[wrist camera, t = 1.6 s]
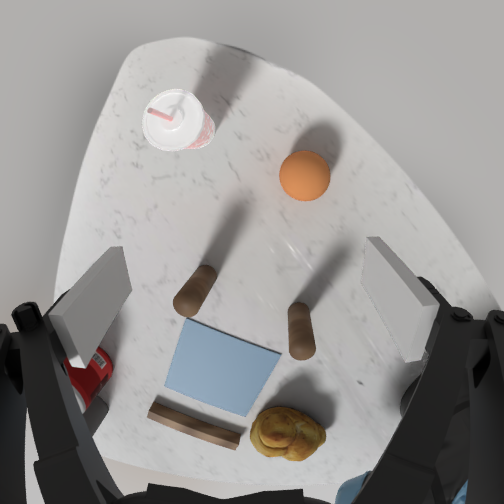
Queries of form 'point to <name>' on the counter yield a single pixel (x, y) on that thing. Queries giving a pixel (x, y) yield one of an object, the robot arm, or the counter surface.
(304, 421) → the bread roll
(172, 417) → the bar
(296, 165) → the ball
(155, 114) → the beverage cup
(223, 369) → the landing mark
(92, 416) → the bottle
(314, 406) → the counter surface
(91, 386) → the canned food
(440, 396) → the robot arm
